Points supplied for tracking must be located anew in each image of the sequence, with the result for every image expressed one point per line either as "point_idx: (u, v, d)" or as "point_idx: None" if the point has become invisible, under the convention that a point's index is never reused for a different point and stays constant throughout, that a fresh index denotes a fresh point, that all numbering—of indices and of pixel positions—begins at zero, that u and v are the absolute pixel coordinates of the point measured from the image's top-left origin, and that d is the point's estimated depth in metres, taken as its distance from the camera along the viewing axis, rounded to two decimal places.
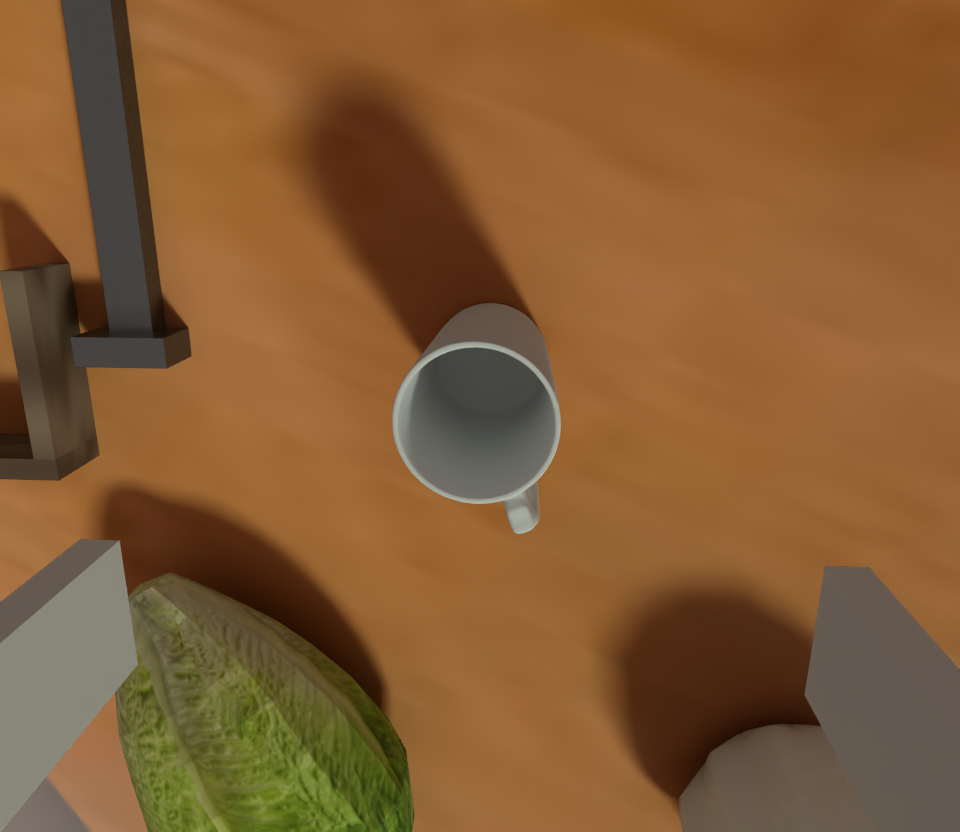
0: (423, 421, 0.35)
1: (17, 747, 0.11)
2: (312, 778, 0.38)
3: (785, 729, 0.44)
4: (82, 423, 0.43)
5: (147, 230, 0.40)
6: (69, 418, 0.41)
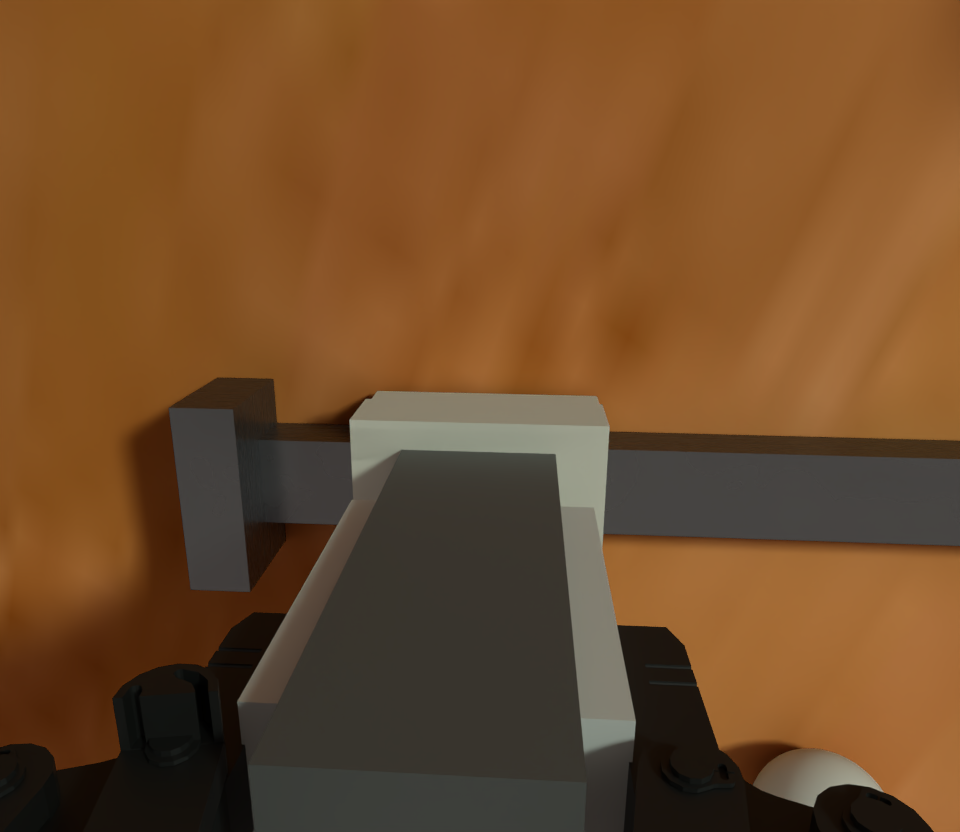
0: None
1: None
2: None
3: None
4: None
5: None
6: None
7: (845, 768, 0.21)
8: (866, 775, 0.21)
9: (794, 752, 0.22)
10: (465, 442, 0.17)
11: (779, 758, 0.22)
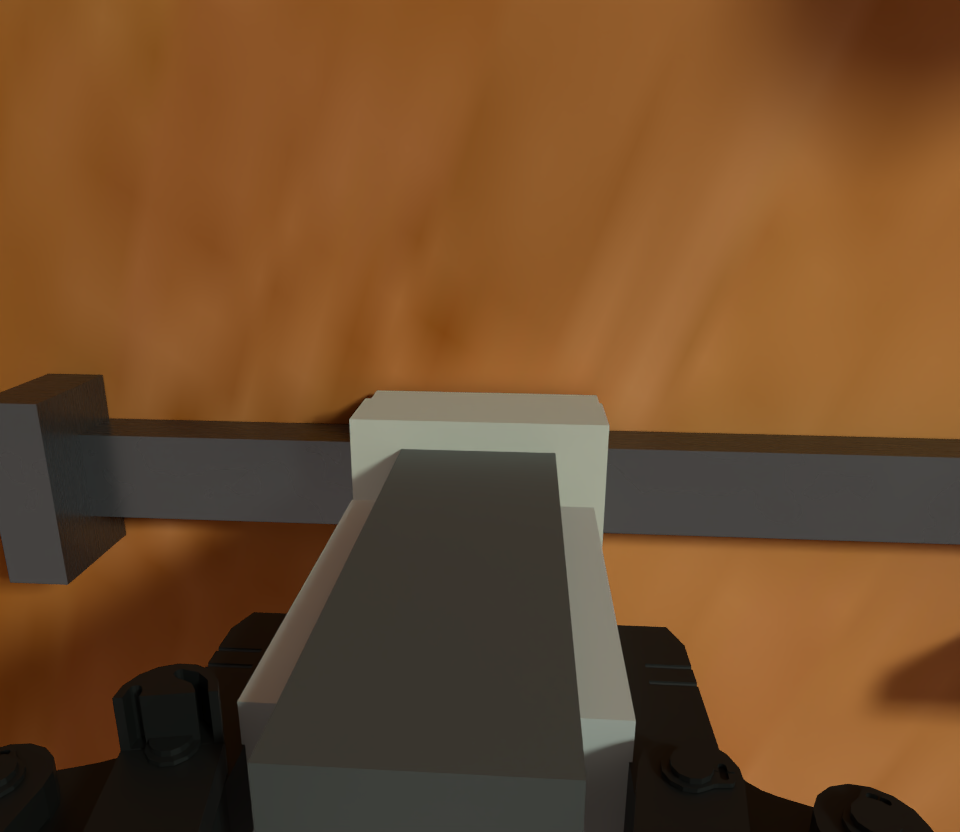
0: None
1: None
2: None
3: None
4: None
5: None
6: None
7: None
8: None
9: None
10: (465, 441, 0.17)
11: None
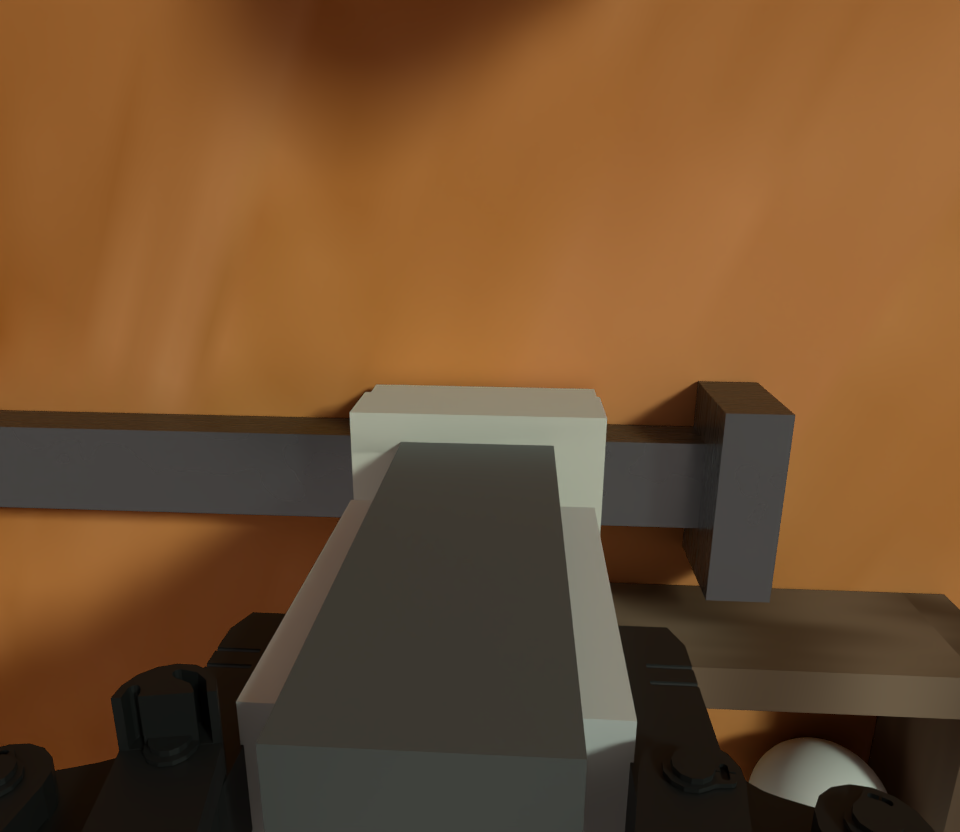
0: None
1: None
2: None
3: None
4: (879, 612, 0.21)
5: None
6: (873, 633, 0.20)
7: (810, 755, 0.22)
8: (785, 757, 0.22)
9: None
10: (464, 434, 0.18)
11: None
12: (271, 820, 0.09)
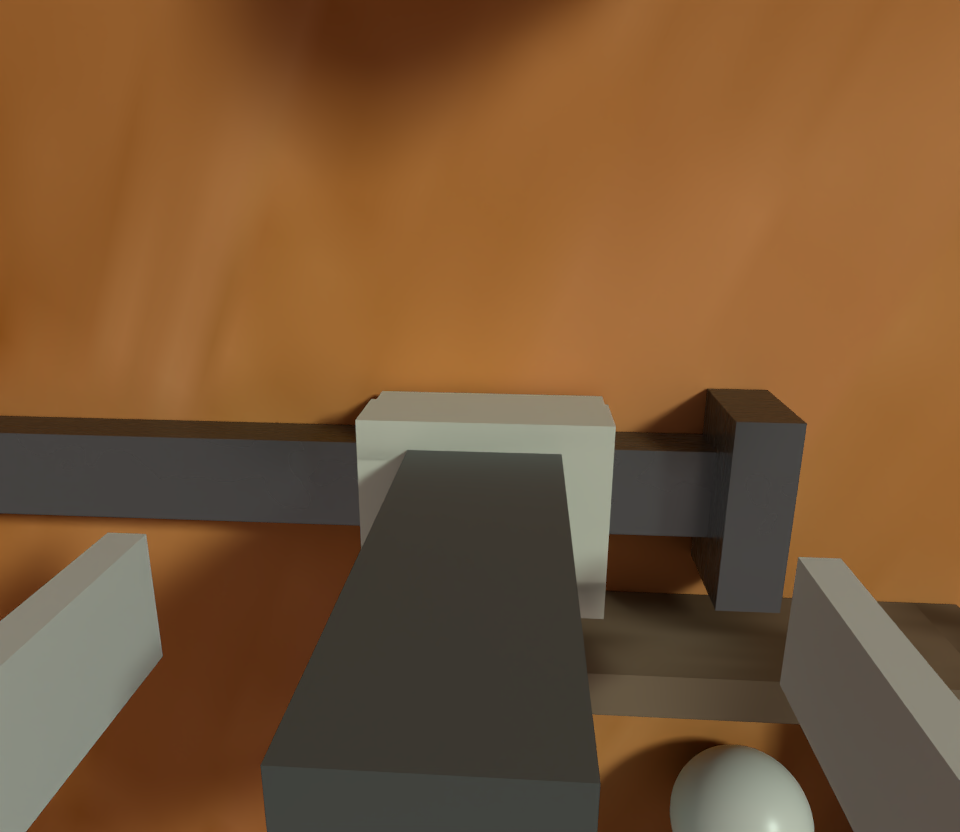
0: None
1: (53, 735, 0.12)
2: None
3: None
4: None
5: None
6: None
7: (740, 753, 0.22)
8: (733, 745, 0.23)
9: (716, 787, 0.21)
10: (471, 442, 0.17)
11: (720, 806, 0.21)
12: None
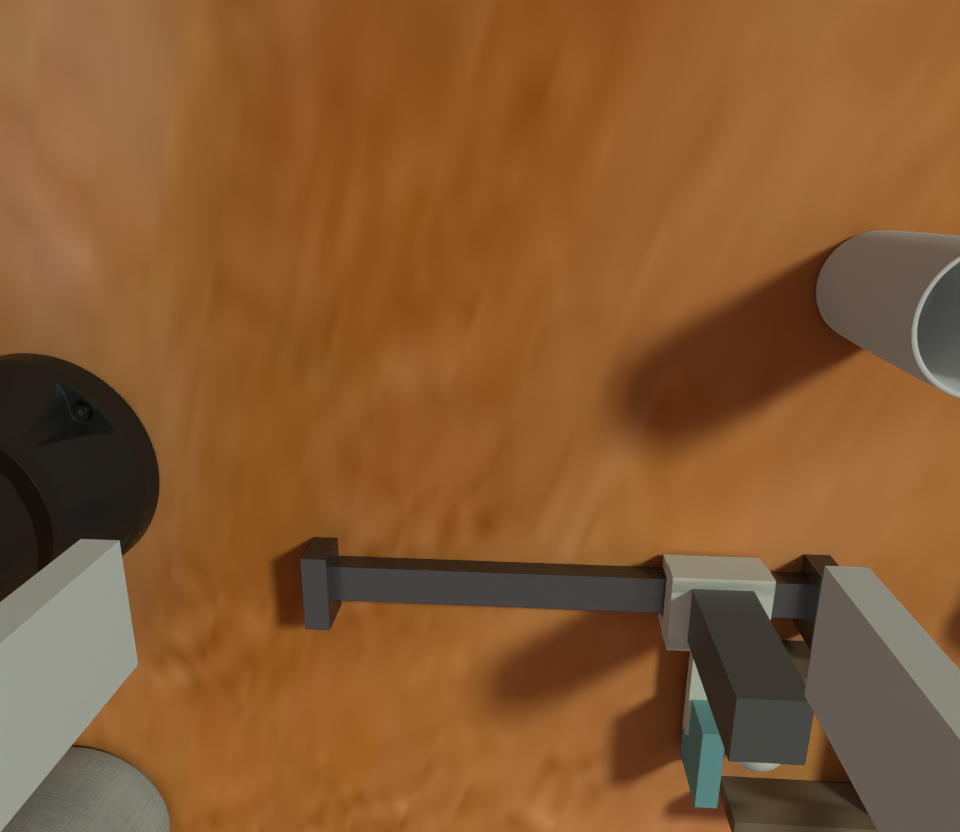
0: (957, 364, 0.36)
1: (17, 747, 0.11)
2: None
3: None
4: None
5: None
6: None
7: None
8: None
9: None
10: (718, 586, 0.44)
11: None
12: (736, 717, 0.35)
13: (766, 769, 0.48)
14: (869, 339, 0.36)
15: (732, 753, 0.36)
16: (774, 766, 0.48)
